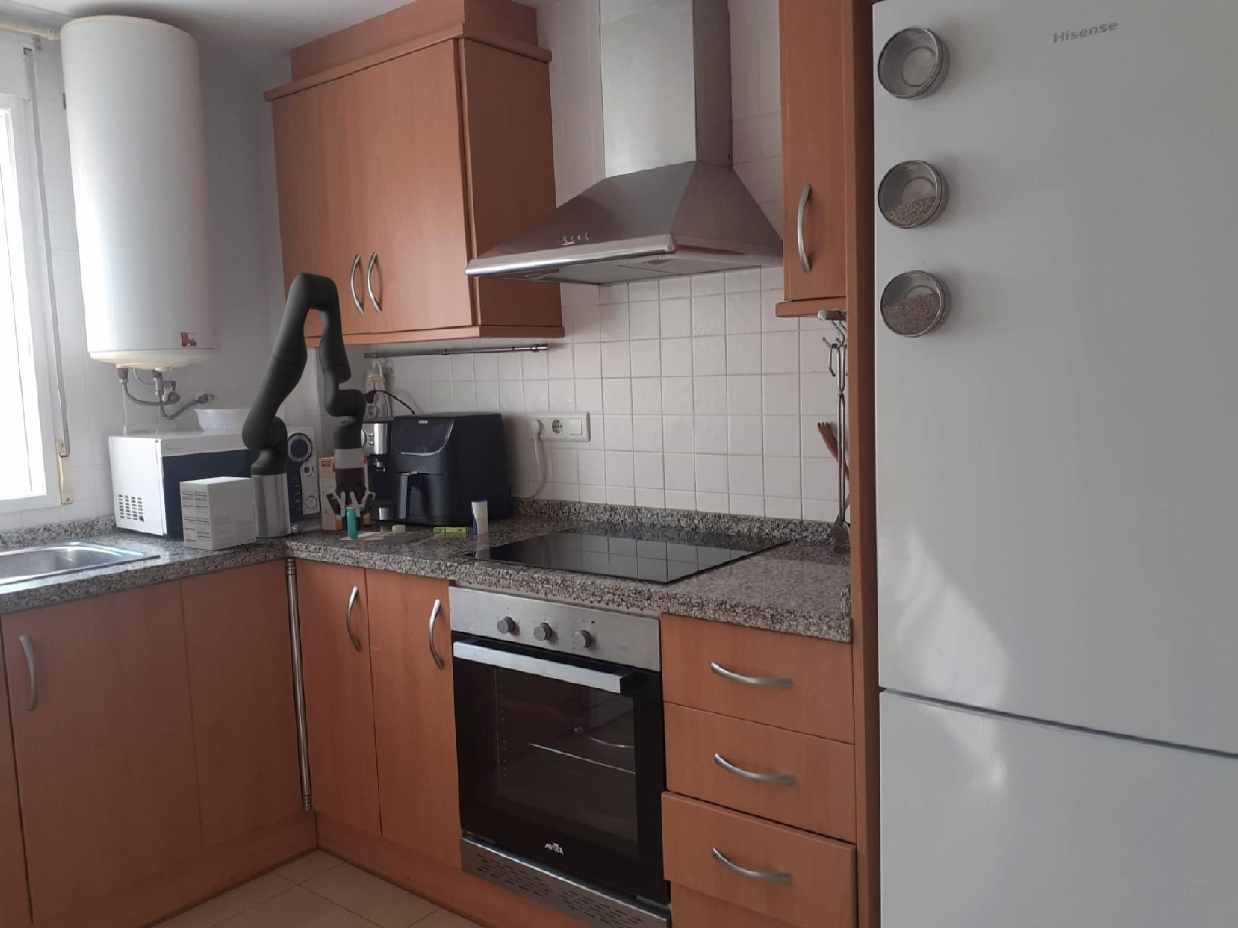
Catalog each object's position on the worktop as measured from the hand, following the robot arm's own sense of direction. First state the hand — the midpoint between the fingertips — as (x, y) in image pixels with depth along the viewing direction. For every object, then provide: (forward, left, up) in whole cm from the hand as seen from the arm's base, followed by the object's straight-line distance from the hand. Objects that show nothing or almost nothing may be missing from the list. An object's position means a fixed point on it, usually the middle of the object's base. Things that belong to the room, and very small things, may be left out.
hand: (353, 530), depth 259 cm
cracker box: (-13, +21, -3) cm, 24 cm away
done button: (+15, -3, -1) cm, 15 cm away
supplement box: (-36, -5, -3) cm, 37 cm away
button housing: (+15, -3, -3) cm, 15 cm away
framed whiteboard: (+4, +4, -3) cm, 6 cm away
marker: (0, 0, -2) cm, 2 cm away
